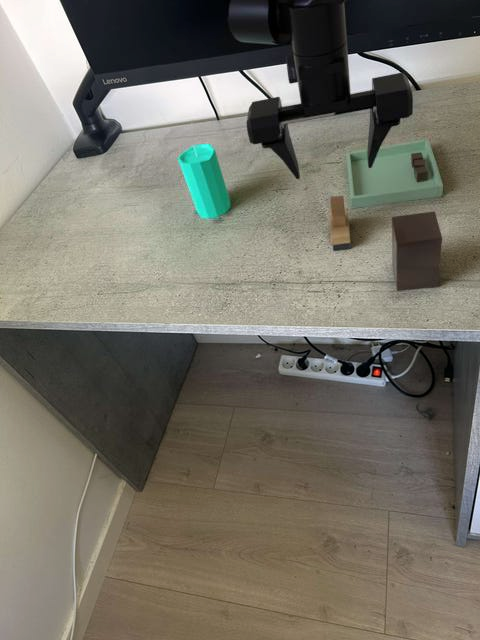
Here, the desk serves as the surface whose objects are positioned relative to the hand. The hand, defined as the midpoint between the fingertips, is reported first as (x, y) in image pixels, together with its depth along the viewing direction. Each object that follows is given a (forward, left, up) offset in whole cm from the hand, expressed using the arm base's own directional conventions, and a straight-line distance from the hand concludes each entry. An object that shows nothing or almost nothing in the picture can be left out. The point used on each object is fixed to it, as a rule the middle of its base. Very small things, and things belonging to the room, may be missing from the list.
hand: (333, 171), depth 64 cm
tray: (-9, -13, -11) cm, 19 cm away
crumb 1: (-13, -15, -11) cm, 22 cm away
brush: (0, 0, -11) cm, 11 cm away
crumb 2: (-13, -13, -11) cm, 21 cm away
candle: (+21, -12, -11) cm, 27 cm away
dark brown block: (-9, +10, -11) cm, 17 cm away
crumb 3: (-13, -11, -11) cm, 20 cm away
